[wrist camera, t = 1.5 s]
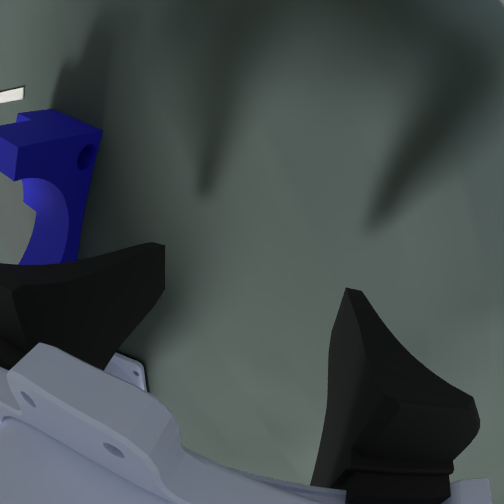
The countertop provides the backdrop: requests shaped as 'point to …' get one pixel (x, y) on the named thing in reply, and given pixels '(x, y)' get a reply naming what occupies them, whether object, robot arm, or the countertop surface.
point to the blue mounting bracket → (51, 178)
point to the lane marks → (12, 95)
